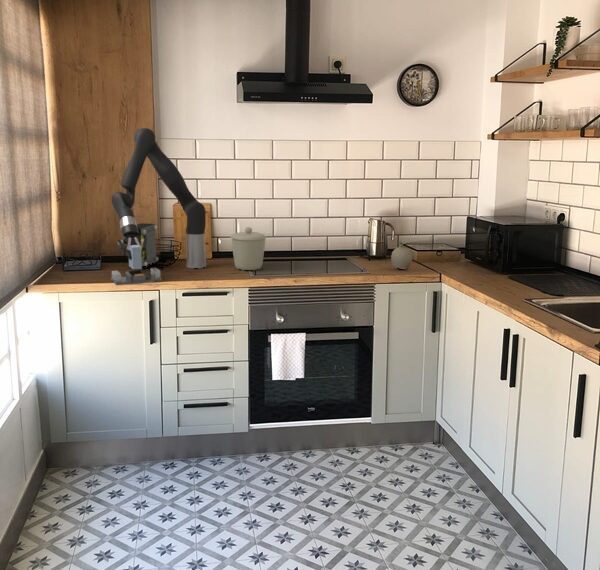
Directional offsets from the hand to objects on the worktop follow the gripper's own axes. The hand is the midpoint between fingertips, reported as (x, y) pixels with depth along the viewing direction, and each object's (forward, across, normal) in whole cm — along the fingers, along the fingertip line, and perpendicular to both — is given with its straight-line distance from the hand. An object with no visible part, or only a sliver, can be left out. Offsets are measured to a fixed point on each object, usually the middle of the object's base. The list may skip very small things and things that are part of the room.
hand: (136, 258), depth 319 cm
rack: (+6, 0, +9) cm, 11 cm away
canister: (+3, +58, +12) cm, 59 cm away
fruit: (+23, +130, -8) cm, 132 cm away
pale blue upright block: (+2, 0, +5) cm, 5 cm away
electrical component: (-18, +12, +34) cm, 40 cm away
